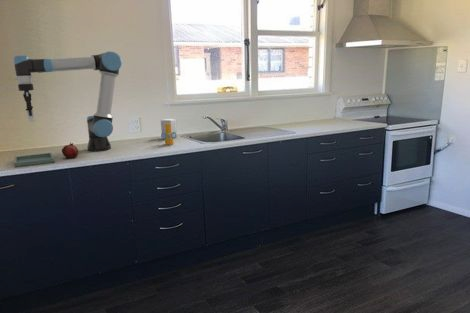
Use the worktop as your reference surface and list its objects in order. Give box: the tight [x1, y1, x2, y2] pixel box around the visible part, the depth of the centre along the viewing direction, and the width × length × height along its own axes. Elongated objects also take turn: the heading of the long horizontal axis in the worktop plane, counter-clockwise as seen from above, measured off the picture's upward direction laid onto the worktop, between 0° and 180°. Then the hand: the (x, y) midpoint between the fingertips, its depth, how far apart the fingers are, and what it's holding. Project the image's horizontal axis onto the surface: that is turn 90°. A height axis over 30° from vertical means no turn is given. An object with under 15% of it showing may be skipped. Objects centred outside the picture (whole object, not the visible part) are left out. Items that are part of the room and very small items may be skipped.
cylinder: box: [160, 123, 178, 146], centre depth 263 cm, size 12×10×15 cm
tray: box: [13, 152, 55, 168], centre depth 219 cm, size 20×20×2 cm
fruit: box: [61, 142, 80, 159], centre depth 226 cm, size 9×10×10 cm
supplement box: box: [160, 118, 178, 140], centre depth 288 cm, size 9×9×15 cm
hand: (31, 120), depth 216 cm, fingers open, 13 cm apart
